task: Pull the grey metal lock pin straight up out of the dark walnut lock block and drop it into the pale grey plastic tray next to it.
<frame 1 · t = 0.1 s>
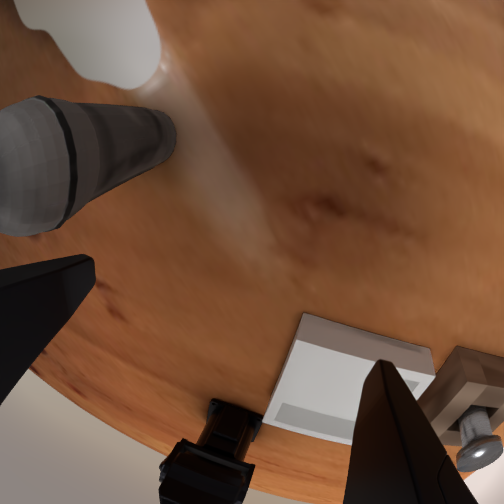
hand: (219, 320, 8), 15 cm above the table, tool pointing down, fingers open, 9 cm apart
beverage cup: (153, 137, 23), on the table
tray: (344, 378, 27), on the table
lock pin: (473, 420, 19), in the lock block
lock block: (465, 386, 23), on the table
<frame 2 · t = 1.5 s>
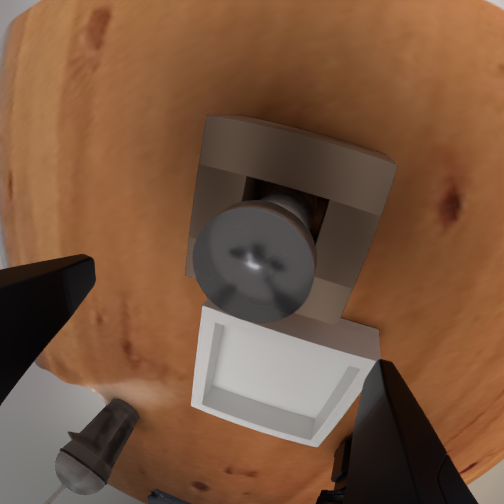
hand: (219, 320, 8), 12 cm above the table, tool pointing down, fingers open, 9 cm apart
beverage cup: (126, 408, 37), on the table
tray: (280, 361, 24), on the table
lock pin: (277, 227, 15), in the lock block
lock block: (292, 202, 19), on the table
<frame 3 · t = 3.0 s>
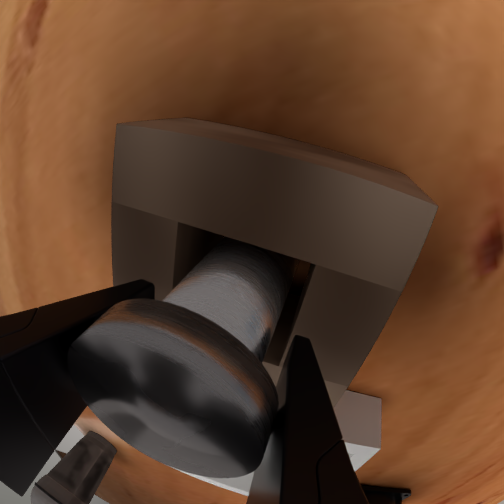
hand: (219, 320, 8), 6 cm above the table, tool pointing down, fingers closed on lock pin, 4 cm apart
beverage cup: (103, 441, 31), on the table
tray: (259, 424, 19), on the table
lock pin: (230, 302, 9), in the lock block, touching gripper
lock block: (267, 244, 13), on the table
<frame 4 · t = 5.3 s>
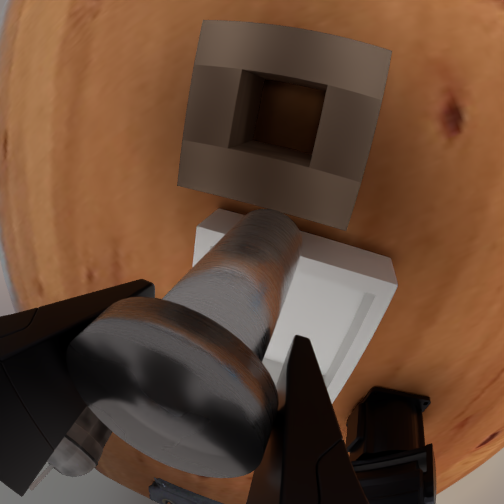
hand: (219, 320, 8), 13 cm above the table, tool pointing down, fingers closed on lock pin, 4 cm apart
beverage cup: (119, 383, 36), on the table
tray: (284, 305, 23), on the table
grey stepped plate: (196, 498, 54), on the table
lock pin: (230, 301, 9), point 12 cm above the table, touching gripper
lock block: (290, 116, 17), on the table
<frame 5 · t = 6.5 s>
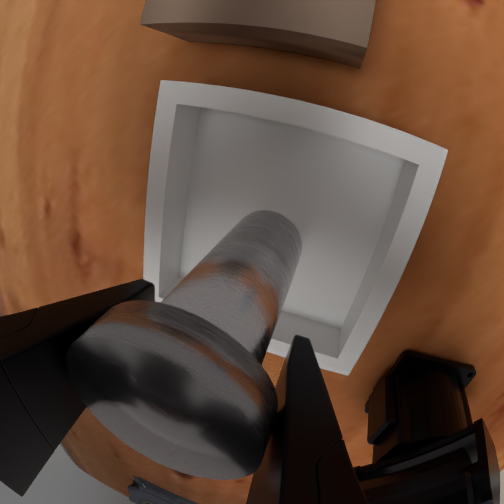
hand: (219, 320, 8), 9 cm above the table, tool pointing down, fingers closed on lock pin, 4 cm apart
tray: (281, 217, 16), on the table
grey stepped plate: (181, 502, 47), on the table
lock pin: (229, 303, 9), point 8 cm above the table, touching gripper
when the fingers open (8 cm above the table, at t = 7.4 s): lock pin drops 1 cm, resting on tray.
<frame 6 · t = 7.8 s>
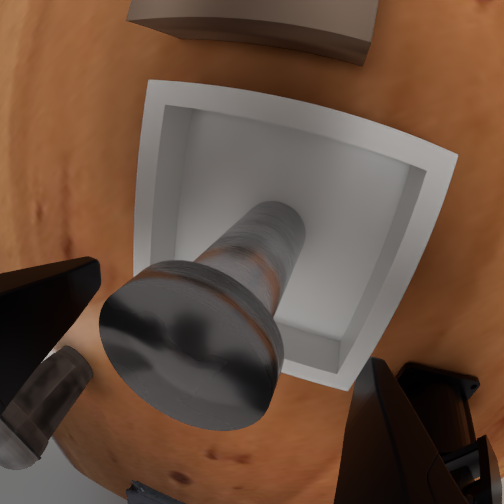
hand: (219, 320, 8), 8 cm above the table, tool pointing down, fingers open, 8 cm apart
beverage cup: (78, 361, 28), on the table
tray: (278, 224, 15), on the table
lock pin: (241, 278, 10), in the tray, point 6 cm above the table
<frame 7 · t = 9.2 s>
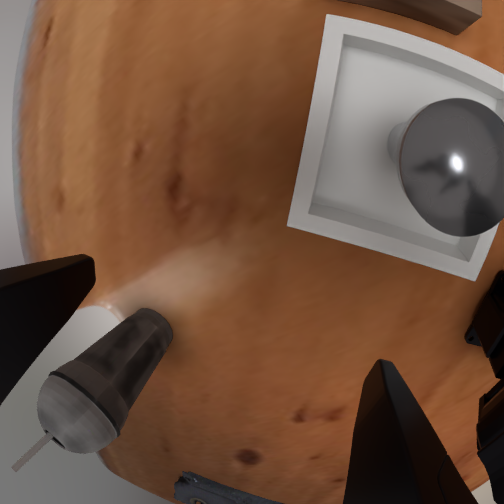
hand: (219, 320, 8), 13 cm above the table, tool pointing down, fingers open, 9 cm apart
beverage cup: (154, 326, 29), on the table
tray: (408, 145, 16), on the table
grey stepped plate: (232, 496, 46), on the table
lock pin: (430, 153, 11), in the tray, point 6 cm above the table
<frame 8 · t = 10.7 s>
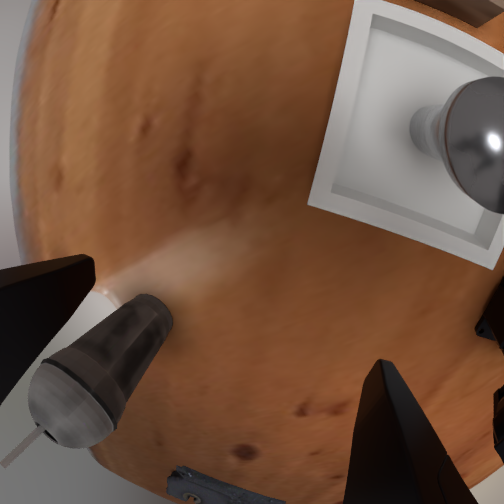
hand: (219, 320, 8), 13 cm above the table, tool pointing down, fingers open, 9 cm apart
beverage cup: (153, 313, 28), on the table
tray: (429, 130, 15), on the table
grey stepped plate: (226, 491, 45), on the table
lock pin: (460, 135, 10), in the tray, point 6 cm above the table
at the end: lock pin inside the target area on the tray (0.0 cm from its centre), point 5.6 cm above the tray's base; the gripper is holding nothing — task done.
